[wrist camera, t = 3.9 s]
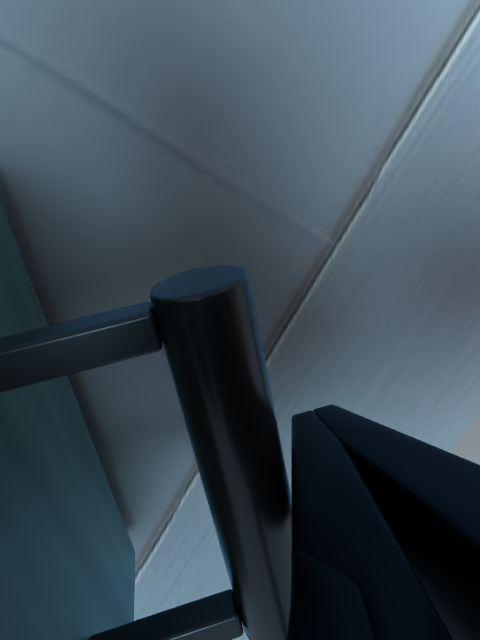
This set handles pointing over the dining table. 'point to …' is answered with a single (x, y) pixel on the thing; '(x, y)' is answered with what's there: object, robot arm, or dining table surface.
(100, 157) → the dining table surface
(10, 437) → the drawer
